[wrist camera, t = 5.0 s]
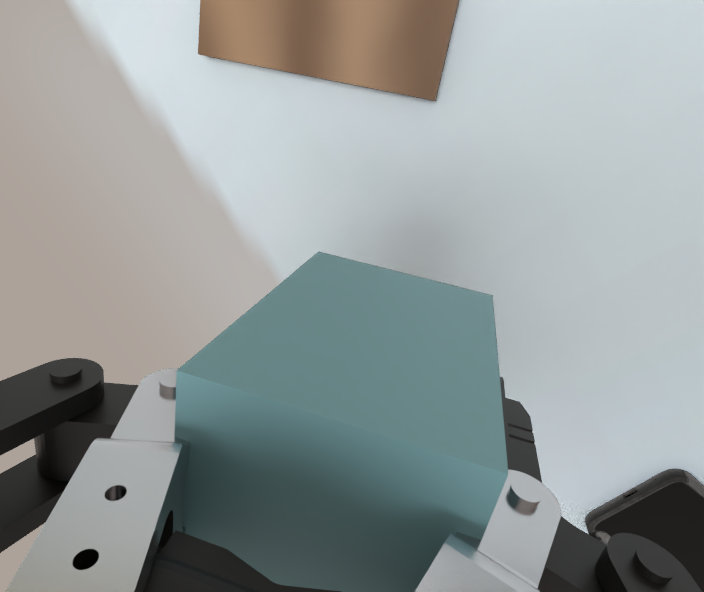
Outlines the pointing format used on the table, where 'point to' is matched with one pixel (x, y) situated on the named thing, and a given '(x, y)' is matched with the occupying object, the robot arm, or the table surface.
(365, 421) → the teal block
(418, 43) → the walnut board
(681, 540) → the phone
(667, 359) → the table surface
